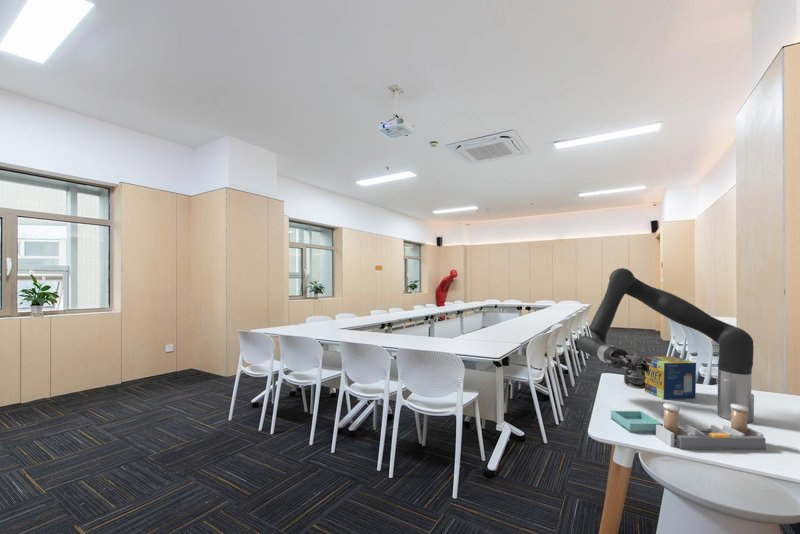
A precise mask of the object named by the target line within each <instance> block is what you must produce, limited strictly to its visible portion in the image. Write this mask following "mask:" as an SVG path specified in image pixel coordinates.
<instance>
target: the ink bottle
mask: <svg viewBox="0 0 800 534" xmlns="http://www.w3.org/2000/svg"><path fill="white" fill-rule="evenodd" d="M641 372H642V375H643V376H645V371H644V370H642V369H641ZM629 373H631V370H630V369H625V368H624V371H623V375H624V376H623V379H624V380H623V382H624V383H625V384H626V385H627V384H629V383H631V382H630V381H629V380H628V378H627V375H626V374H629ZM641 385H643V386H644V387H645V381H644V383H643V384H641Z"/></svg>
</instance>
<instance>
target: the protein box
mask: <svg viewBox="0 0 800 534" xmlns="http://www.w3.org/2000/svg"><path fill="white" fill-rule="evenodd" d="M644 359H645V360H646V361H647V365H649V371H648V372H646V371H645V377H646V379H645V388H644V392H646V391H647V392H646V393H648V392H649V393H648V394H650V393H651V394H650V395H652V394H653V396H655V397H657V398H658V399H659V398H660V399H661V398H662V399H661V400H689V399H690V398H692V399H691V400H693V399H694V398H695V399H696V391H697V389H696V385H697V380H696V379H697V373H696V372H697V362H695V361H691V360H688V359H685V358H683V357H682V358H681V357H678V356H645V358H644ZM685 398H686V399H685ZM687 398H688V399H687ZM695 399H694V400H695Z"/></svg>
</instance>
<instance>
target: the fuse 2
mask: <svg viewBox="0 0 800 534" xmlns="http://www.w3.org/2000/svg"><path fill="white" fill-rule="evenodd" d="M747 412H748V407H747V406H744V405H740V404H731V420H730V427H731V428H733V429H735V430H737V431H739V432H741V433H743V434H745V436H747V427H748V422H747Z"/></svg>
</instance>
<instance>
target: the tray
mask: <svg viewBox="0 0 800 534" xmlns="http://www.w3.org/2000/svg"><path fill="white" fill-rule="evenodd" d="M610 419H611V420H612V421H613V422H614V423H616V424H618V425H619V426H620V427H622V429H624V430H626V431H627V432H629V433H634V434H635V433H636V434H637V433H640V434H641V433H642V434H643V433H645V434H646V433H650V434H656V433H655V430H656V425H661V426H662V427H664V423H662V422H660V421H659V420H658V419H656V418H653V417H652V416H650V415H649V414H647V413H645V412H643V411H642V410H610Z"/></svg>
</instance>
